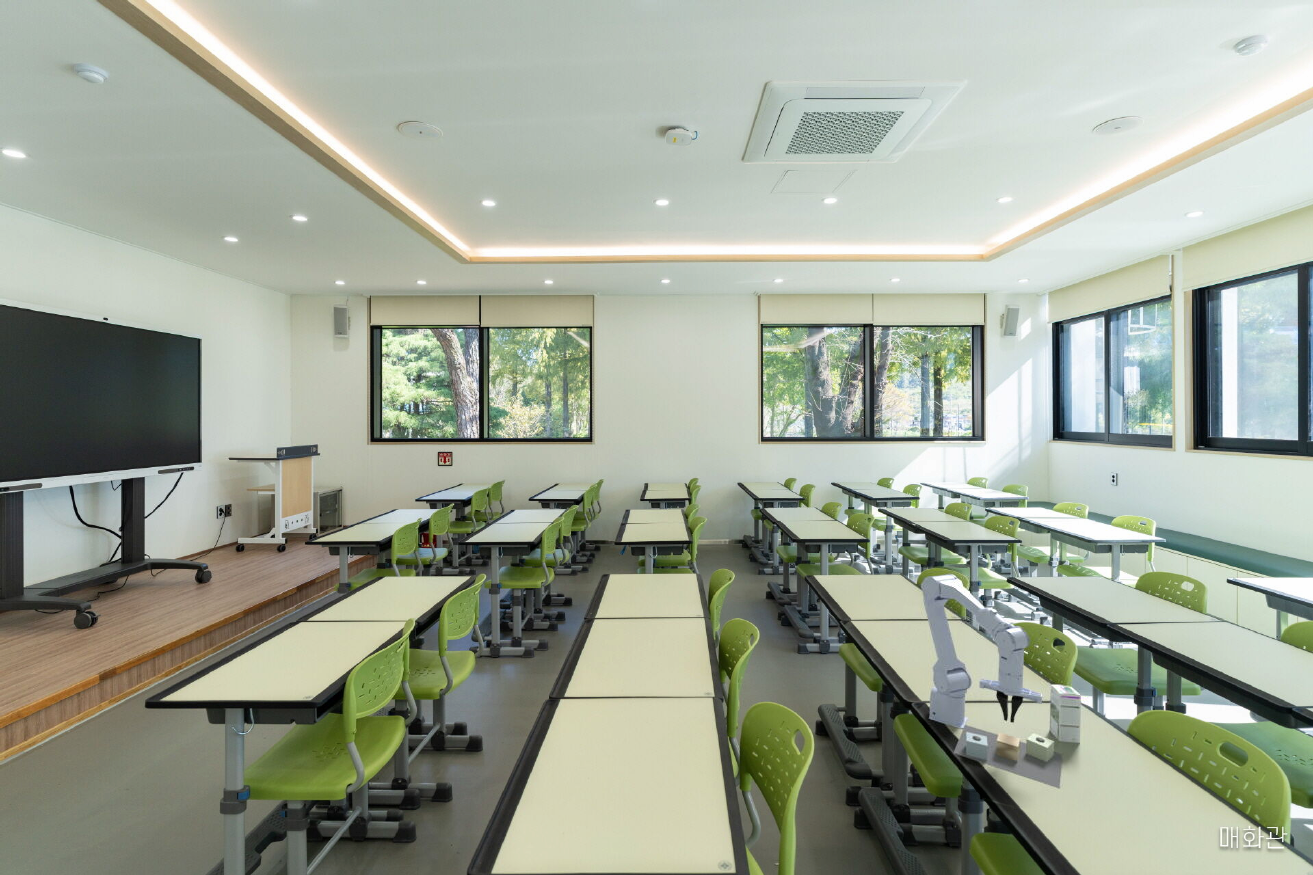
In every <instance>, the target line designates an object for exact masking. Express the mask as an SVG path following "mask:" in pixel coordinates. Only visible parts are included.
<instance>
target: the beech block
mask: <svg viewBox="0 0 1313 875" xmlns="http://www.w3.org/2000/svg"><path fill="white" fill-rule="evenodd" d="M997 735H998V738H997V749H996V755H999V756H1003V757H1006V758H1009V759H1012V760H1015V761H1018V758H1019V753H1020V742H1021V738H1020V737H1015V736H1012V735H1009V734H1006V733H1002V732H998V734H997Z"/></svg>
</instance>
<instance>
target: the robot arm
mask: <svg viewBox="0 0 1313 875" xmlns="http://www.w3.org/2000/svg"><path fill="white" fill-rule="evenodd" d="M920 587H921V591H922V592H921V593H922V596H923V605H924V609H925V613H926V617H927V621H928V625H929V629H930V633H931V637H932V641H933V645H934V649H935V654H936V657H937V660H936V662H935V664H934V665H933V667H932V672H933V678H932V680H933V684H934V686H932V687H931V690H930V696H929V717H928V719H930V720H933V721H935V722H938V723H941V724H944V725H948V726H952V727H955V728H958V729H961V730H963V729H964V726H965V725H967V724H966V723H967V722H968V718H969V717H967V716H965V714H966V713H965V712H966V709H965V708H966V694H967V693H968V690H969V689H970V688H971V686H972V683H973V682H972V678H971V675H970V674H969V672H968V670H967V667H966V664H965V662H963V661H961V660H960V659H958V656H957V652H956V648H955V644H954V641H953V637H952V633H951V630H950V627H949V622H948V618H947V614H946V610H945V605H946V604H947V602H948V601H949V600H952V599H953V600H955V601H956V602H958V603H959V604H960V605H961V606H962V607H964V608H965V609H967V610H968V611H969V612H971V614H973V615H975V620H976V623H977V624H978V625H979V626H980V627H982V628H983V629H984V630H985V631H986V632H987V633H989V634H990V635H991V636H992V637H993V639H994V642H995V645H996V646H997V653H998V676H997V677H998V680H990V679H985V678H980V679H979V689H986V690H992V691H994V692H996V694H995V695H996V697H995V698H996V700H997V701H998V703H999V705H1000V709H1001V710H1002V715H1003V720H1004V721H1006V722H1007V721H1008V720H1009V719H1008V718H1009V707H1008V704H1009V696H1010V697H1011V699H1010V700H1011V701H1010V702H1011V703H1010V704H1011V706H1010V707H1011V710H1010V721H1009V722H1010V723H1013V724H1014V723H1015V716H1016V715H1017V711H1018V710H1019V709H1020V707H1021V706H1022V704H1023V702H1024V699H1025V700H1030V701H1033V702H1036V704H1042V702H1043V694H1042V693H1039V692H1036V691H1034V690H1031V689H1029V688H1028V689H1027V688H1025V687H1023V686H1024V685H1023V684H1024V658H1025V649H1026V648H1028V646H1029V645H1030V637H1029V635H1028V633H1027V632H1026V630H1024V629H1023V627H1021V626H1019V625H1016V626H1015V625H1013V624H1012V623H1011V622H1009V621H1008V620H1006V619H1005V618H1004V617H1002V615H1000V614H999V612H998V610H996V608H992V607H985V606H984V605H982V603H981V602H980V601H979V600H978V599H976V598H975V597H974V596H973V595H972V593H971V592H969V591H968V589H966V588H965V587H964V584H963V581H962V580H960V579H959V578H958V577H957V576H956V575H954V574H952V573H947V574H942V575H933V576H926V577H924V579H923V580H922V582H921V584H920Z"/></svg>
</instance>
